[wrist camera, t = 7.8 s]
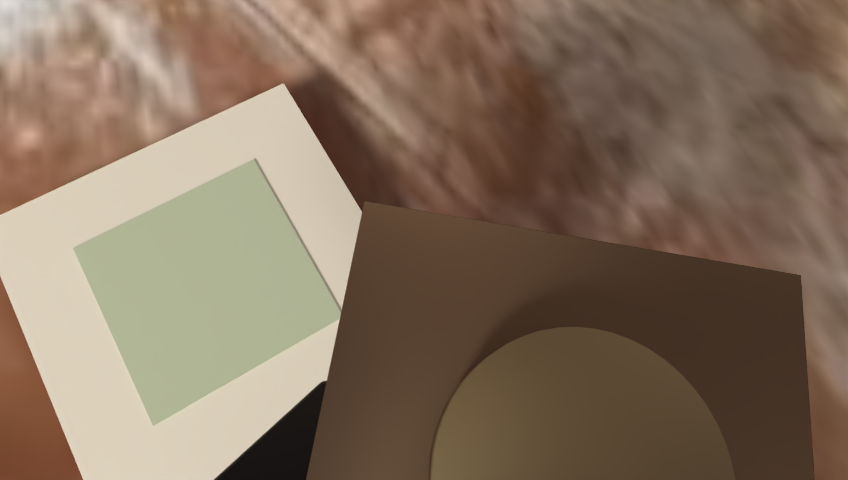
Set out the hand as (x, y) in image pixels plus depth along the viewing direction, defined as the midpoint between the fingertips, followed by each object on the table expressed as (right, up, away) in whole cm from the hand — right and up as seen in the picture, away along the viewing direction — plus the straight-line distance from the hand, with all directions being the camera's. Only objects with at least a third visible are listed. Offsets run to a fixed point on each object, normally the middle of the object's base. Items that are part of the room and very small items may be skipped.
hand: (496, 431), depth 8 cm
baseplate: (-9, +1, +14) cm, 17 cm away
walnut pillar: (0, -2, +6) cm, 7 cm away
